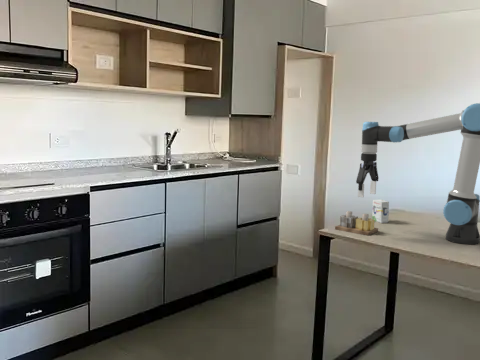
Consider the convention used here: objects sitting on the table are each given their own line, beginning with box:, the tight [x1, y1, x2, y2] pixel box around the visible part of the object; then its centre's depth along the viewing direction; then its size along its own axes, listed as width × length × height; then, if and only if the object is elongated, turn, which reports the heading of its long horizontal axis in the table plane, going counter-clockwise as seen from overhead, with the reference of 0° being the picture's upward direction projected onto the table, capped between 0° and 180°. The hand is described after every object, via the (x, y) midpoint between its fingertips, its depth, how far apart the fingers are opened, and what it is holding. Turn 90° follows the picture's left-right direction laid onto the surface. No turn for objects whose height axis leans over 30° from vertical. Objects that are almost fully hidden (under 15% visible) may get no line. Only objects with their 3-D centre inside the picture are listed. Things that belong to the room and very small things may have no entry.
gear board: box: [334, 210, 379, 236], centre depth 254 cm, size 18×12×9 cm, turn 50°
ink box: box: [371, 198, 390, 224], centre depth 276 cm, size 9×5×12 cm, turn 21°
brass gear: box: [355, 217, 376, 231], centre depth 251 cm, size 8×8×5 cm
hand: (366, 195), depth 249 cm, fingers open, 13 cm apart
